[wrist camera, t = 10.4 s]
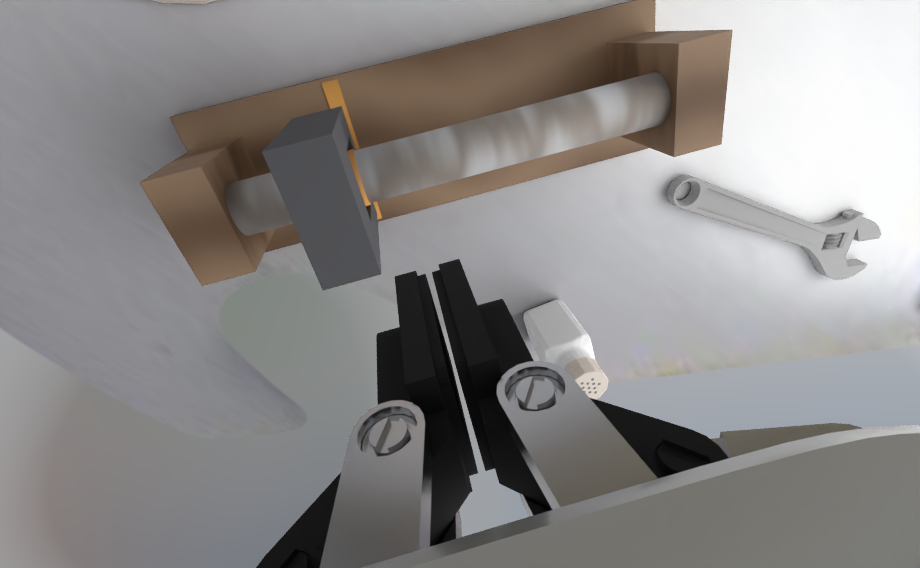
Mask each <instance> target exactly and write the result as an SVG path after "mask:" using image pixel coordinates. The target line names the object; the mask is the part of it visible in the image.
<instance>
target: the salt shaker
mask: <svg viewBox="0 0 920 568" xmlns="http://www.w3.org/2000/svg"><path fill="white" fill-rule="evenodd" d="M524 322H525V326H526V329H527V332H528V335H529V339H530V342H531V343H532V345H533V347H534V349H535V351H536V353H537V354H538V356H539V358H540V360H541V361H544V362H550V363H553V364H555V365H558V366H560V367H562V368H563V369H564V370H565V371H567V372H568V373H569V374H570V375H571V377H572V378H573V379H574V380H575V381H576V383H577V384H578V385H579V386H580V387H581V388H582V390H583V391H584V392H585V393H586V394H587V395H588V397H589V398H592V399H597V398H599V397H600V396H602V394H603V393H604V392H605V390H606V389H607V385H608V379H607V377H606V375H605V374H604V372H603V371H602V370H601V368H600V367H599V365H598V364H597V362H596V361H595V357H594V351H593V347H592V344H591V340H590V337H589V336H588V334H587V333H586V332H585V330H584V329H583V328H582V326H581V325H580V324H579V322H578V321H577V320H576V318H575V317H574V316H573V314H572V313H571V312H570V310H569V309H568V308H567V306H566V305H565V304H564V303H563V301H562V300H560V299H558V300H553V301H551V302H548V303H546V304H543V305H540V306H538V307H535V308H533V309H530V310H528V311H526V312H525V313H524Z"/></svg>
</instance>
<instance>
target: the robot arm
mask: <svg viewBox="0 0 920 568" xmlns="http://www.w3.org/2000/svg"><path fill="white" fill-rule="evenodd" d="M439 268H440V270H438V271H435V272H432V274H433V278H434V282H435V286H436V290H437V294H438V298H439V302H440V306H441V310H442V314H443V318H444V322H445V325H446V329H447V333H448V337H449V341H450V345H451V349H452V353H453V357H454V361H455V365H456V368H457V372H458V376H459V379H460V383H461V386H462V390H463V393H464V397H465V400H466V404H467V407H468V411H469V414H470V418H471V421H472V425H473V428H474V432H475V435H476V439H477V442H478V446H479V449H480V453H481V456H482V460H483V463H484V467H485V470H486V471H487V470H490V469H494V468H495V469H496V473H497V477H498V480H499V483H500V484H502V485H504V486H506V487H508V488H510V489H512V490H514V491H516V492H519V493H520V497H521V500H522V503H523V505H524V507H525V509H526V511H527V513H528V515H529V517H527V518H524V519H521V520H517V521H514V522H511V523H507V524H504V525H501V526H498V527H494V528H491V529H487V530H484V531H481V532H478V533H474V534H471V535H468V536H464V537H462V535H461V534H462V532H461V518H460V513H459V509H460V507H461V505H462V504H463V502H464V501H465V499H466V498H467V496H468V494H469V493H470V492H472V487H471V483H470V478H469V476H470V475H473V474H477V473H478V471H477V467H476V463H475V459H474V454H473V450H472V446H471V442H470V438H469V434H468V430H467V426H466V422H465V418H464V413H463V409H462V405H461V401H460V397H459V393H458V389H457V385H456V381H455V376H454V372H453V368H452V364H451V360H450V357H449V353H448V350H447V346H446V343H445V340H444V336H443V333H442V329H441V326H440V322H439V319H438V315H437V312H436V308H435V305H434V302H433V298H432V295H431V291H430V288H429V284H428V281H427V278H426V274H424V275H420V276H417V273H416V271H413V272H410V273H406V274H402V275H399V276H395V284H396V294H397V304H398V314H399V324H400V327H399V328H395V329H392V330H388V331H384V332H381V333H378V334H377V385H378V405H377V406H375V407H373V408H372V409H370V410H368V411H367V412H366V413H365V414H364V415H362V416H361V417H360V418H359V420H358V421H357V422H356V424H355V425H354V426H353V429H352V431H351V434H350V436H349V441H348V445H347V450H346V454H345V458H344V463H343V467H342V472H341V473H340V474H339V475H338V476H337V477H336V478H335V480H334V481H333V482H332V483H331V484H330V485H329V486H328V487H327V488H326V490H325V491H324V492H323V493H322V494H321V495H320V496H319V497H318V498H317V499H316V501H315V502H314V503H313V504H312V505H311V506H310V507H309V508H308V509H307V511H305V513H304V514H303V515H302V516H301V517H300V518H299V519H298V520H297V521H296V523H295V524H294V525H293V526H292V527H291V528H290V529H289V530H288V531H287V532H286V534H285V535H284V536H283V537H282V538H281V539H280V540H279V541H278V542H277V543H276V545H275V546H274V547H273V548H272V549H271V550H270V551H269V552H268V553H267V554H266V556H265V557H264V558H263V559H262V561H261V562H260V563H259V565H258V566H257V567H256V568H920V426H913V425H906V426H889V427H872V428H861V427H857V426H853V425H850V424H837V423H828V424H815V425H803V426H790V427H777V428H764V429H752V430H739V431H726V432H721V433H720V438H716V439H709V438H708V437H707V436H705V435H702V434H700V433H698V432H695V431H693V430H691V429H688V428H684V427H681V426H678V425H675V424H671V423H669V422H665V421H662V420H659V419H656V418H653V417H649V416H646V415H643V414H640V413H637V412H633V411H631V410H627V409H624V408H621V407H618V406H615V405H611V404H608V403H605V402H602V401H598V400H596V399H592V398H589V397H588V395H587V394H586V393H585V392H584V391H583V390H582V388H581V387H580V386H579V385H578V384H577V383H576V381H575V380H574V379H573V378H572V377H571V375H570V374H569V373H568V372H567V371H565V370H564V369H563V368H562V367H560V366H558V365H555V364H553V363H550V362H544V361H533V359H532V357H531V355H530V353H529V351H528V349H527V347H526V345H525V343H524V341H523V339H522V337H521V335H520V333H519V330H518V328H517V326H516V324H515V322H514V320H513V318H512V316H511V314H510V312H509V310H508V308H507V306H506V304H505V302H504V301H503V299H500V300H496V301H492V302H489V303H485V304H482V305H478V306H477V304H476V301H475V298H474V296H473V293H472V291H471V288H470V286H469V283H468V280H467V278H466V275H465V273H464V270H463V268H462V265H461V263H460V260H459V259H457V260H454V261H450V262H446V263H443V264H439Z"/></svg>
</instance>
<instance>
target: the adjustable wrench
mask: <svg viewBox="0 0 920 568" xmlns="http://www.w3.org/2000/svg"><path fill="white" fill-rule="evenodd" d="M685 182H689V183H691V190H690V193H689V194H688V196H687V197H685V198H684V199H682V200H677V199H676V193H677V191H678V189H679V188H680V186H681V185H683V184H684V183H685ZM667 199H668V201H669V202H670V203H672V204H673V205H675V206H677V207H679V208H682V209H685V210H688V211H691V212H694V213H698V214H701V215H704V216H707V217H711V218H714V219H717V220H720V221H723V222H727V223H730V224H733V225H736V226H740V227H743V228H746V229H749V230H752V231H756V232H759V233H762V234H765V235H768V236H772V237H775V238H778V239H781V240H785V241H788V242H791V243H794V244H797V245H800V246H801V247H802V248H803V249H804V250H805V251H806V253H807V254H808V255H809V257H810V259H811V261H812V263H813V265H814V267H815V269H816V270H817V271H818V272H819V273H821V274H823V275H825V276H827V277H829V278H831V279H833V280H842V279H846V278H849V277H851V276H853V275H856V274H857V273H859V272H860V271H861V270H863V269H864V268H865V267H866V265H867V263H864V262H862V261H860V260H858V259H851V260H846V254H847V252H848V250H849V247H850V245H851V242H852V240H853V239H854V240H857V241H864V240H871V239H878V238H879V237H880V235H881V232H880V229H879V227H878V226H877V224H876V223H875V222H873V221H871V220H869V219H866V218H863V217H862V216H863V213H861V212H858V211H855V210H852V209H851V210H848V211H844V212H843V213H842V215H841V216H839V217H837V218H835V219H832V220H829V221H826V222H822V223H811V222H807V221H804V220H802V219H799V218H797V217H794V216H792V215H789V214H786V213H784V212H781V211H779V210H776V209H774V208H771V207H769V206H766V205H763V204H761V203H758V202H756V201H753V200H751V199H748V198H745V197H743V196H740V195H738V194H735V193H733V192H730V191H727V190H725V189H722V188H720V187H717V186H715V185H712V184H710V183H707V182H704V181H702V180H699V179H697V178H694V177H692V176H689V175H681V176H679V177H677V178H675V179H674V180H673V181H672V182H671V183H670V185H669V187H668V189H667Z"/></svg>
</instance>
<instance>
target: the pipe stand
mask: <svg viewBox="0 0 920 568" xmlns="http://www.w3.org/2000/svg"><path fill="white" fill-rule="evenodd" d="M731 39H732V30H704V31H664V32H655V0H633V1H629V2H625V3H621V4H617V5H613V6H609V7H605V8H601V9H597V10H593V11H589V12H585V13H581V14H577V15H573V16H569V17H565V18H561V19H557V20H553V21H549V22H545V23H541V24H537V25H533V26H529V27H525V28H521V29H517V30H513V31H509V32H505V33H501V34H497V35H493V36H489V37H485V38H481V39H477V40H473V41H469V42H466V43H462V44H458V45H454V46H450V47H446V48H442V49H438V50H434V51H430V52H426V53H422V54H418V55H414V56H410V57H406V58H402V59H398V60H394V61H390V62H386V63H382V64H378V65H374V66H370V67H366V68H362V69H358V70H354V71H350V72H346V73H342V74H338V75H334V76H330V77H326V78H322V79H318V80H314V81H310V82H306V83H302V84H298V85H294V86H290V87H286V88H282V89H278V90H274V91H270V92H266V93H262V94H258V95H254V96H250V97H246V98H242V99H238V100H234V101H230V102H226V103H222V104H218V105H214V106H210V107H206V108H202V109H198V110H194V111H190V112H186V113H182V114H178V115H175V116H172V117H170V119H171V121H172V123H173V125H174V127H175V129H176V131H177V133H178V134H179V136H180V138H181V140H182V142H183V144H184V146H185V148H186V150H187V153H185V154H184V155H182V156H181V157H179V158H177V159H176V160H174V161H173V162H171V163H170V164H168V165H166V166H165V167H163V168H162V169H160V170H159V171H157V172H155V173H154V174H152V175H151V176H149V177H148V178H146V179H144V180H143V181H141V182H140V185H141V187H142V188H143V190H144V192H145V193H146V195H147V196H148V198H149V200H150V201H151V203H152V205H153V206H154V208H155V210H156V211H157V213H158V215H159V216H160V218H161V220H162V221H163V223H164V224H165V226H166V228H167V229H168V231H169V233H170V234H171V236H172V238H173V239H174V241H175V243H176V244H177V246H178V248H179V249H180V251H181V252H182V254H183V256H184V257H185V259H186V261H187V262H188V264H189V266H190V267H191V269H192V271H193V272H194V274H195V276H196V277H197V279H198V280H199V282H200V284H201V285H202V286H204V285H208V284H211V283H215V282H219V281H222V280H226V279H230V278H233V277H237V276H241V275H244V274H248V273H252V272H255V271H256V269H257V267H258V265H259V263H260V261H261V259H262V256H263V254H264V252H268V251H271V250H275V249H279V248H282V247H286V246H290V245H293V244H297V243H301V240H300V237H299V235H298V233H297V231H296V228H295V226H294V224H293V221H292V219H291V217H290V215H289V212H288V210H287V208H286V206H285V203H284V201H283V199H282V197H281V194H280V192H279V190H278V187H277V185H276V183H275V181H274V178H273V176H272V174H271V172H270V169H269V167H268V165H267V163H266V160H265V158H264V156H263V153H262V151H263V150H264V149H265V148H266V147H267V146H268V145H269V144H270V143H271V141H272V140H273V139H274V138H275V137H276V136H277V135H278V134H279V133H280V132H281V130H282V129H283V128H284V127H285V126H286V125H287V124H288V123H289V122H290V121H291V120H292V119H293V118H297V117H301V116H304V115H308V114H312V113H316V112H320V111H324V110H328V109H332V108H336V107H340V106H342V109H343V112H344V115H345V118H346V121H347V124H348V127H349V130H350V133H351V136H352V139H353V142H354V145H355V148H356V150H354V149H351V150H347V153H348V156H349V159H350V162H351V165H352V168H353V171H354V174H355V176H356V179H357V182H358V185H359V188H360V191H361V194H362V197H363V200H364V203H365V206H368V205H371V203H372V202H373V203H374V206H375V209H376V212H377V221H382V220H386V219H389V218H393V217H397V216H400V215H404V214H408V213H411V212H415V211H419V210H422V209H426V208H430V207H433V206H437V205H441V204H445V203H448V202H452V201H456V200H459V199H463V198H467V197H470V196H474V195H478V194H481V193H485V192H489V191H492V190H496V189H500V188H503V187H507V186H511V185H515V184H518V183H522V182H526V181H529V180H533V179H537V178H540V177H544V176H548V175H551V174H555V173H559V172H562V171H566V170H570V169H574V168H577V167H581V166H585V165H588V164H592V163H596V162H599V161H603V160H607V159H610V158H614V157H618V156H621V155H625V154H629V153H633V152H636V151H640V150H644V149H647V148H652V149H654V150H657V151H660V152H662V153H665V154H668V155H670V156H673V157H676V156H679V155H683V154H687V153H690V152H694V151H698V150H701V149H705V148H709V147H712V146H716V145H720V144H721V142H722V131H723V121H724V111H725V101H726V90H727V80H728V70H729V59H730V49H731Z"/></svg>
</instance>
